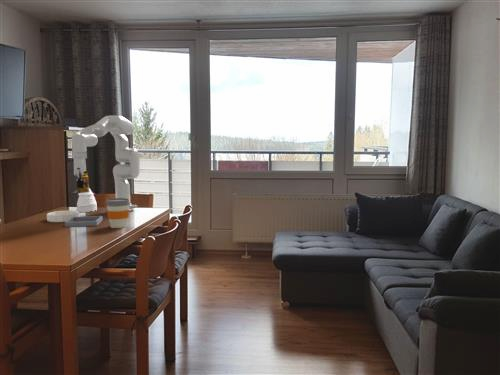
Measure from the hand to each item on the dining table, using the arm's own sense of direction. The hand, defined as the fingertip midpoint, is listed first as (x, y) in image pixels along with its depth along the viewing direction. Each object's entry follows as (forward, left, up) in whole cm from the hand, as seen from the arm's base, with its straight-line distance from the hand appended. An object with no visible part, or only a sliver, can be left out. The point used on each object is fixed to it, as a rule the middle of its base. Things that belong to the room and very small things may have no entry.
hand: (81, 186), depth 240 cm
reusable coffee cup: (-22, +14, -21) cm, 34 cm away
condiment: (0, 0, -3) cm, 3 cm away
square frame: (-1, +1, -21) cm, 21 cm away
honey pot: (+8, -47, -21) cm, 52 cm away
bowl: (+15, -15, -21) cm, 30 cm away
